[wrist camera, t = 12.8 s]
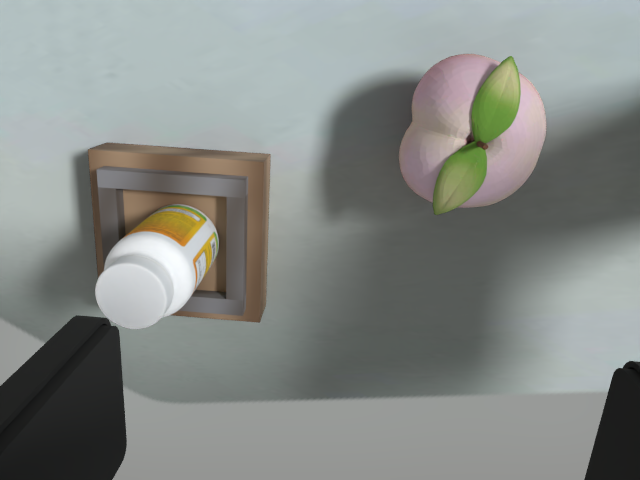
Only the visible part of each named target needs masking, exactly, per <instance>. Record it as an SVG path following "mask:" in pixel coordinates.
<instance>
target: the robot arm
mask: <svg viewBox="0 0 640 480" xmlns="http://www.w3.org/2000/svg"><path fill="white" fill-rule="evenodd" d="M125 451H126V426H125V411H124V396H123V381H122V366H121V351H120V337H119V330H118V328H117V327H116V326H111V324H110V322H109V320H108V319H107V318H101V317H89V316H75V317H73V318H72V319H71V320H70V321H69V322H68V323H67V324H66V325H65V326H63V327H62V328H61V329H60V330H59V331H58V332H57V333H56V334H55V335H54V336H53V337H52V338H51V339H50V340H49V341H48V342H47V343H45V344H44V346H42V347H41V348H40V349H39V350H38V351H37V352H36V353H35V354H34V355H33V356H32V357H31V358H30V359H29V360H28V361H26V362H25V364H23V365H22V366H21V367H20V368H19V369H18V370H17V371H16V372H15V373H14V374H13V375H12V376H11V377H10V378H9V379H7V380H6V381H5V382H4V383H3V384H2V385H1V386H0V480H112V479H113V477H114V476H115V474H116V472H117V470H118V468H119V467H120V465H121V463H122V461H123V459H124V456H125ZM585 480H640V362H634V361H629V362H627V363H626V364H625V365H624V366H623V368H618V369H616V371H615V372H614V374H613V377H612V381H611V384H610V388H609V392H608V396H607V399H606V403H605V406H604V410H603V414H602V417H601V421H600V425H599V428H598V432H597V436H596V439H595V443H594V447H593V450H592V454H591V458H590V462H589V465H588V469H587V473H586V476H585Z"/></svg>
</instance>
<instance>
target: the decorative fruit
mask: <svg viewBox="0 0 640 480" xmlns="http://www.w3.org/2000/svg"><path fill="white" fill-rule="evenodd" d="M545 135H546V116H545V110H544V105H543V102H542V100H541V97H540V95H539V93H538V92H537V90H536V88H535V87H534V86H533V84H532V83H531V82H530V81H529V80H528V79H527V78H526V77H524V76H523V75H522V74H520V73H519V72H518V69H517V66H516V64H515V62H514V59H513V57H512V56H510V57H508V58H507V59H505V60H504V61H503V62H501V63H500V62H498V61H496V60H493V59H491V58H487V57H484V56H481V55H475V54H461V55H455V56H451V57H448V58H446V59H444V60H442V61H440V62H438V63H437V64H435V65H434V66H433V67H431V68H430V69H429V70H428V71H427V72H426V73H425V75H424V76H423V77H422V79H421V80H420V82H419V84H418V85H417V87H416V89H415V92H414V95H413V99H412V122H411V124H410V126H409V127H408V129H407V130H406V132H405V134H404V137H403V139H402V142H401V145H400V150H399V164H400V170H401V173H402V176H403V178H404V180H405V182H406V183H407V185H408V186H409V187H410V188H411V189H412V190H413V191H414V192H415V193H416V194H417V195H419V196H421V197H422V198H424V199H426V200H428V201H430V202H433V209H434V214H435V215H438V214H442V213H446V212H448V211H451V210H453V209H455V208H471V207H482V206H488V205H492V204H494V203H497V202H499V201H501V200H504V199H505V198H507V197H509V196H510V195H511V194H513V193H514V192H515V191H516V190H518V189H519V188H520V187H521V186H522V185H523V184H524V183H525V181H526V180H527V179H528V178H529V176H530V175H531V173H532V172H533V170H534V168H535V166H536V164H537V161H538V158H539V156H540V153H541V150H542V147H543V143H544V140H545Z"/></svg>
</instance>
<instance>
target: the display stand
mask: <svg viewBox="0 0 640 480" xmlns="http://www.w3.org/2000/svg"><path fill="white" fill-rule="evenodd" d="M88 155H89V168H90V181H91V194H92V206H93V219H94V232H95V245H96V257H97V270H98V278H99V276H100V275H101V273H102V272H103V271H104V266H105V261H106V258H107V256H108V254H109V253H110V251H111V250H112V248H113V247H114V246H115V245H116V244H117V243H118V242H119V241H120V240H121V239H122V238H123V237H125V236H126V235H127V234H128V233H130V232H131V231H132V230H133V229H134V228H136V227H137V226H138V225H139V224H141V223H142V222H143V221H144V220H145V219H147V218H148V217H149V216H150V215H151V214H153V213H154V212H156V211H157V210H159V209H160V208H162V207H165V206H168V205H173V204H183V205H188V206H191V207H194V208H196V209H198V210H199V211H201V212H202V213H204V214H205V215H206V216H207V217H208V218H209V219H210V220H211V222H212V223H213V224H214V226H215V228H216V231H217V234H218V238H219V249H218V253H217V256H216V258H215V260H214V262H213V264H212V265H211V267H210V268H209V270H208V271H207V273H206V274H205V276H204V277H203V279H202V281H201V282H200V283H199V285H198V286H197V288H196V289H195V291H194V293H193V294H192V296H191V297H190V299H189V300H188V301H187V302H186V304H185V305H184V306H183V307H182V308H181V309H179V310H178V311H177V312H175V313H173V314H171V315H176V316H188V317H200V318H212V319H224V320H237V321H249V322H260V320H261V317H262V314H263V311H264V309H265V306H266V284H267V251H268V219H269V186H270V154H261V153H246V152H232V151H218V150H204V149H190V148H176V147H162V146H148V145H134V144H119V143H104V144H102V145H99V146H96V147H94V148H91V149H88Z"/></svg>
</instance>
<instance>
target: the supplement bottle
mask: <svg viewBox="0 0 640 480" xmlns="http://www.w3.org/2000/svg"><path fill="white" fill-rule="evenodd" d="M218 249H219V238H218V234H217V231H216V228H215V226H214V224H213V223H212V222H211V220H210V219H209V218H208V217H207V216H206V215H205V214H204V213H202V212H201V211H199V210H198V209H196V208H194V207H191V206H188V205H183V204H173V205H168V206H165V207H162V208H160V209H159V210H157V211H156V212H154V213H153V214H151V215H150V216H149V217H148V218H147V219H145V220H144V221H143V222H142V223H141V224H139V225H138V226H137V227H136V228H134V229H133V230H132V231H131V232H130V233H128V234H127V235H126V236H125V237H123V238H122V239H121V240H120V241H119V242H118V243H117V244H116V245H115V246H114V247H113V248H112V250H111V251H110V253H109V254H108V256H107V258H106V261H105V266H104V271H103V272H102V273H101V275H100V276H99V278H98V280H97V283H96V287H95V296H96V300H97V303H98V306H99V308H100V309H101V311H102V312H103V314H104V315H105V316H106V317H107V318H108V319H109V320H111V321H112V322H114V323H115V324H117V325H119V326H122V327H124V328H129V329H143V328H147V327H149V326H151V325H153V324H155V323H156V322H158V321H159V320H160V319H161V318H162V317H166V316H169V315H171V314H173V313H175V312H177V311H178V310H179V309H181V308H182V307H183V306H184V305H185V304H186V302H187V301H188V300H189V299H190V297H191V296H192V294H193V293H194V291H195V289H196V288H197V286H198V285H199V283H200V282H201V281H202V279H203V277H204V276H205V274H206V273H207V271H208V270H209V268H210V267H211V265H212V264H213V262H214V260H215V258H216V256H217V253H218Z"/></svg>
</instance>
